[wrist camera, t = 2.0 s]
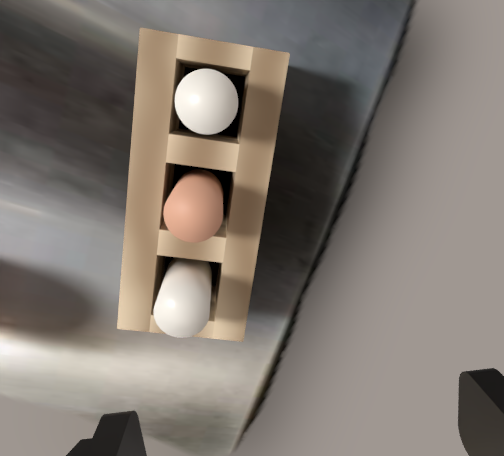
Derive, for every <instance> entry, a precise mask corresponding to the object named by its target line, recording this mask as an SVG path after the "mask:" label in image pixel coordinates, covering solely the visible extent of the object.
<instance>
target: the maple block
mask: <svg viewBox="0 0 504 456" xmlns="http://www.w3.org/2000/svg"><path fill="white" fill-rule="evenodd" d="M289 56H290V53H286V52H280V51H274V50H269V49H263V48H257V47H251V46H245V45H239V44H233V43H228V42H222V41H216V40H210V39H204V38H198V37H192V36H187V35H181V34H175V33H169V32H163V31H157V30H151V29H145V28H140V34H139V47H138V60H137V74H136V87H135V100H134V113H133V126H132V139H131V152H130V165H129V178H128V191H127V205H126V218H125V231H124V244H123V257H122V270H121V283H120V296H119V309H118V322H117V329H124V330H134V331H144V332H154V333H163V334H166V333H165V332H163V331H162V330H161V329H160V328H159V327H158V325H157V324H156V321H155V319H154V306H155V303H156V300H157V297H158V294H159V291H160V288H161V285H162V282H163V274H164V265H165V256H170V257H179V258H187V259H195V260H204V261H212V262H219V269H218V276H217V283H216V286H211V300H210V314H209V320H208V322H207V324H206V326H205V327H204V328H203V330H202V331H200V332H199V333H197V334H196V335H194V336H193V337H203V338H213V339H222V340H232V341H242V342H243V339H244V333H245V327H246V321H247V315H248V308H249V302H250V296H251V290H252V284H253V278H254V271H255V265H256V259H257V253H258V247H259V241H260V234H261V228H262V222H263V216H264V210H265V204H266V197H267V191H268V185H269V179H270V173H271V167H272V160H273V154H274V148H275V142H276V136H277V130H278V123H279V117H280V111H281V105H282V99H283V93H284V86H285V80H286V74H287V68H288V62H289ZM185 67H189V68H195V69H212V70H216V71H219V72H220V73H226V74H232V75H238V76H244V77H245V82H244V89H243V96H242V103H241V110H240V118H239V125H238V132H237V137H232V136H226V135H219V134H209V135H206V134H199V133H196V132H194V131H192V130H185V129H179V120H180V118H179V116H178V114H177V112H176V108H175V93H176V90H177V87H178V85H179V84H180V82H181V81H182V79H183V78H184V72H185ZM175 164H181V165H188V166H195V167H202V168H210V169H217V170H224V171H231V172H232V175H231V183H230V190H229V197H228V204H227V211H226V215H223V220H222V223H221V226H220V228H219V230H218V231H217V232H216V233H215V235H213V236H212V237H211V238H209V239H207V240H205V241H202V242H198V243H190V242H185V241H182V240H180V239H178V238H177V237H175V236H174V235H173V234H172V233H171V232H170V231H169V229H168V228H167V226H166V224H165V221H164V215H163V212H164V206H165V203H166V201H167V199H168V197H169V196H170V194H171V192H172V188H173V178H174V168H175Z"/></svg>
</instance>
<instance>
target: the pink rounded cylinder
mask: <svg viewBox="0 0 504 456" xmlns="http://www.w3.org/2000/svg"><path fill="white" fill-rule="evenodd" d="M163 215H164V221H165V224H166V226H167V228H168V229H169V231H170V232H171V233H172V234H173V235H174V236H175V237H177V238H178V239H180V240H182V241H185V242H190V243H198V242H202V241H205V240H207V239H209V238H211V237H212V236H213V235H215V233H216V232H217V231H218V230H219V228H220V226H221V223H222V220H223V188H222V185H221V183H220V181H219V179H218V178H217V177H216V176H215V175H214V174H212V173H211V172H209V171H206V170H201V169H196V170H191V171H189V172H187V173H185V174H184V175H183V176H182V177H181V178H180V179H179V180H178V182H177V184H176V185H175V187H174V189H173V191H172V192H171V194H170V196H169V197H168V199H167V201H166V203H165V206H164V212H163Z"/></svg>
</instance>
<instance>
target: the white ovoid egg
mask: <svg viewBox="0 0 504 456" xmlns="http://www.w3.org/2000/svg"><path fill="white" fill-rule="evenodd" d="M175 108H176V112H177V114H178V116H179V118H180V120H181V121H182V122H183V124H184V125H185V126H186V127H188V128H189V129H190V130H192V131H194V132H196V133H199V134H206V135H209V134H215V133H218V132H221V131H223V130H224V129H226V128H227V127H228V126H229V125H230V124H231V123H232V121H233V120H234V118H235V116H236V113H237V110H238V95H237V92H236V89H235V87H234V85H233V83H232V82H231V81H230V80H229V79H228V78H227V77H226V76H225V75H224V74H222V73H220V72H219V71H216V70H212V69H199V70H195V71H193V72H191V73H189V74H188V75H186V76H185V77H184V78H183V79H182V81H181V82H180V84H179V85H178V87H177V90H176V93H175Z"/></svg>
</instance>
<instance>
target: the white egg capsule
mask: <svg viewBox="0 0 504 456" xmlns="http://www.w3.org/2000/svg"><path fill="white" fill-rule="evenodd" d="M211 285H212V270H211V267H210V265H209V263H208V262H207V261H204V260H195V259H187V258H179V257H175V258H174V259H173V260H172V261H171V262H170V264H169V265H168V268H167V271H166V274H165V277H164V280H163V282H162V285H161V288H160V291H159V294H158V297H157V300H156V303H155V306H154V319H155V321H156V324H157V325H158V327H159V328H160V329H161V330H162V331H163V332H165V333H166V334H168V335H170V336H173V337H178V338H186V337H191V336H194V335H196V334H197V333H199V332H200V331H202V330H203V328H204V327H205V326H206V324H207V322H208V320H209V314H210V300H211Z"/></svg>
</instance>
